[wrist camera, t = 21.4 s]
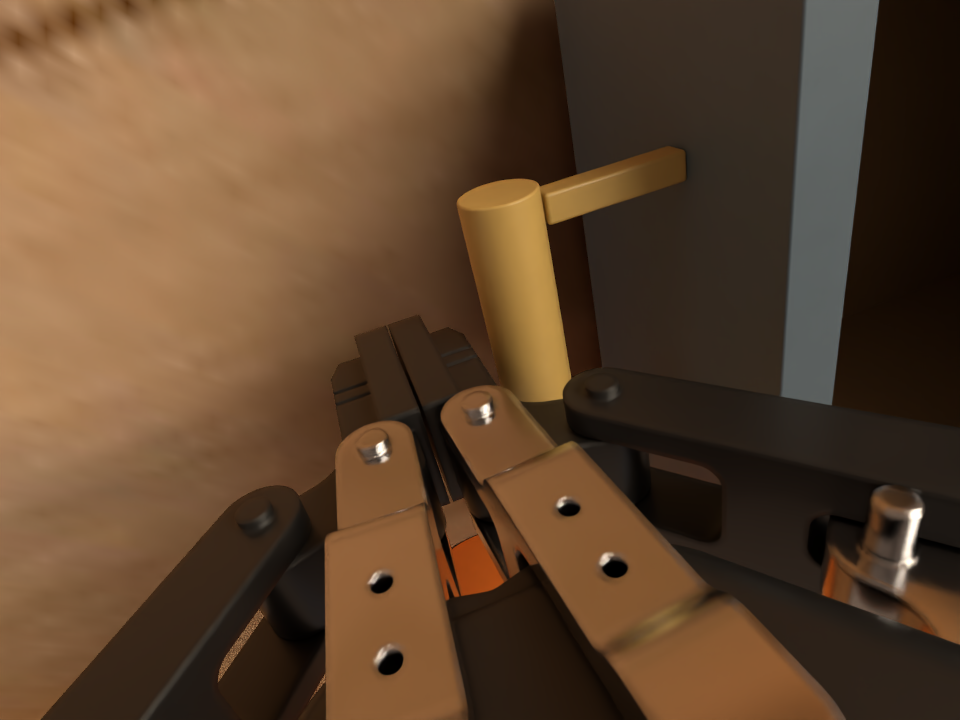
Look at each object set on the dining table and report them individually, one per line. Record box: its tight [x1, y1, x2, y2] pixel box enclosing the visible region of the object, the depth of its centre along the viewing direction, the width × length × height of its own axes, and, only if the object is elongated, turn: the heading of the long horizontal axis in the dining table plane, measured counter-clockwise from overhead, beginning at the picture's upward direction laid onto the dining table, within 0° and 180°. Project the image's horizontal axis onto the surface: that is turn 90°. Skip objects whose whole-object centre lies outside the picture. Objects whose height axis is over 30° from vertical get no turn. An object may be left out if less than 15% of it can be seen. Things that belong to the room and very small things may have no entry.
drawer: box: [457, 0, 960, 485], centre depth 15 cm, size 21×13×8 cm, turn 103°
